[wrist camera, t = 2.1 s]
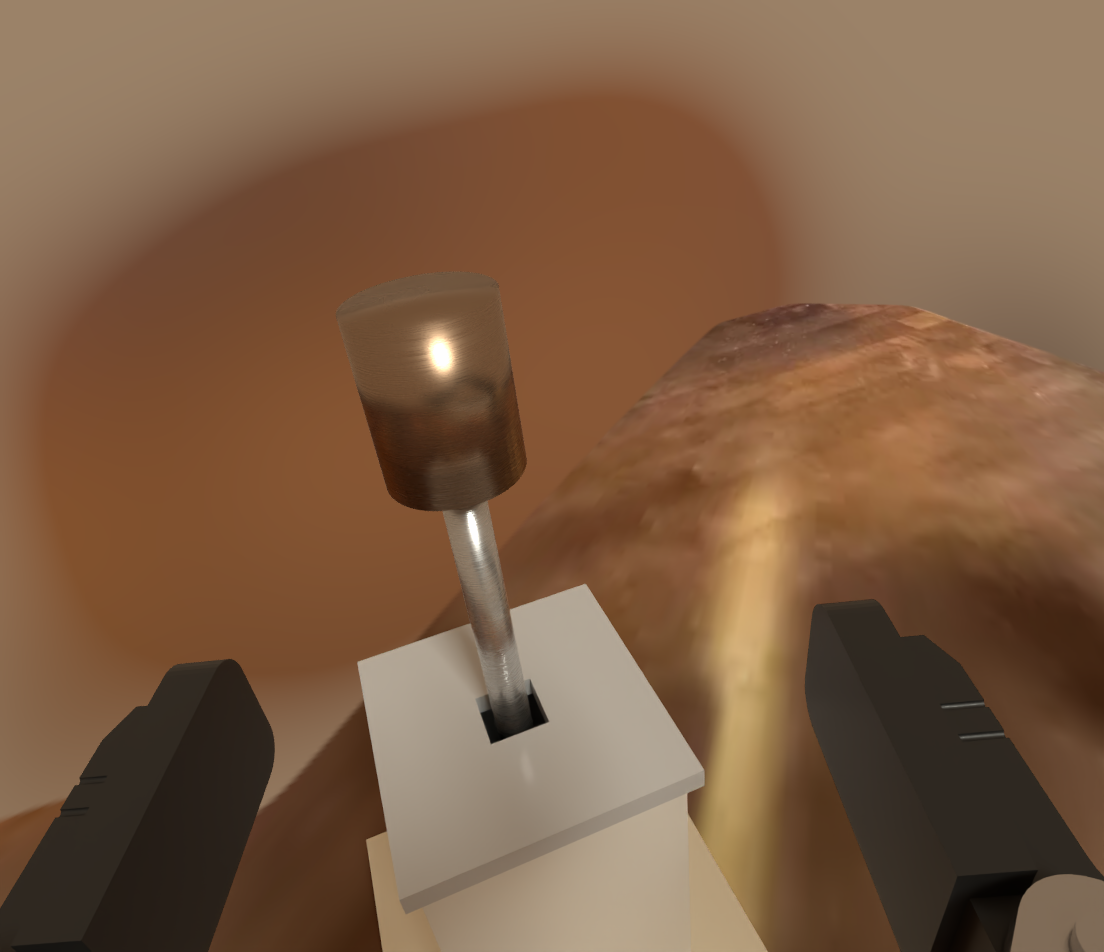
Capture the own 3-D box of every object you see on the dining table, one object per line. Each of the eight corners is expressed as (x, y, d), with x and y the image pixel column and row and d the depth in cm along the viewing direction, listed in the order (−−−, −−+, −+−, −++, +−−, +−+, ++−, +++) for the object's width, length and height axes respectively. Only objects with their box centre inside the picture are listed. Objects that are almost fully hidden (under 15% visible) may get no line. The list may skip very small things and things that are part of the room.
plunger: (578, 683, 38) (514, 237, 25) (653, 826, 31) (616, 307, 18) (419, 743, 36) (262, 291, 23) (460, 911, 29) (267, 393, 16)
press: (640, 740, 52) (622, 520, 41) (815, 1047, 36) (862, 819, 25) (370, 849, 48) (270, 635, 37) (432, 1257, 31) (286, 1090, 21)
